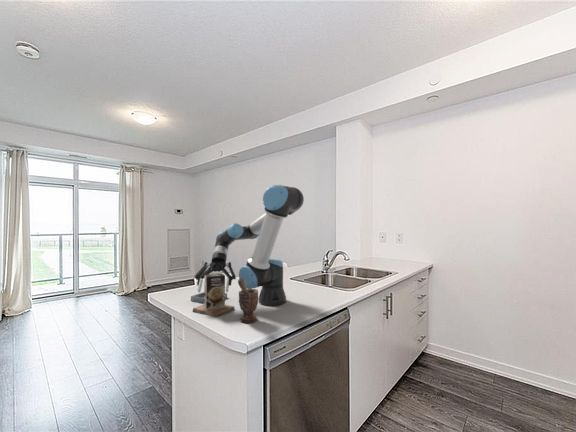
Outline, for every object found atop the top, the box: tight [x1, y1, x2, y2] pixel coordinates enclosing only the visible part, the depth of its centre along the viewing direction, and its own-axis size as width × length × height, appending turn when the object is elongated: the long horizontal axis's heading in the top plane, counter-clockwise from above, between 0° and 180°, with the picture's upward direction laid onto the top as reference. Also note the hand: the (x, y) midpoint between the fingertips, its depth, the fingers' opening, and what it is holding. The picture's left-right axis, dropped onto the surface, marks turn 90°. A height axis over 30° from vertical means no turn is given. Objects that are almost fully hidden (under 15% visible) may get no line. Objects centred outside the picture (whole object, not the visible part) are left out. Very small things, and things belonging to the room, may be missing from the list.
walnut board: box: [192, 304, 235, 318], centre depth 133 cm, size 16×12×2 cm
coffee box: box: [203, 273, 226, 310], centre depth 134 cm, size 9×6×16 cm
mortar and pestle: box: [237, 278, 259, 324], centre depth 119 cm, size 12×9×20 cm
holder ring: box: [190, 291, 228, 304], centre depth 152 cm, size 14×14×2 cm
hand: (212, 291), depth 131 cm, fingers open, 13 cm apart
